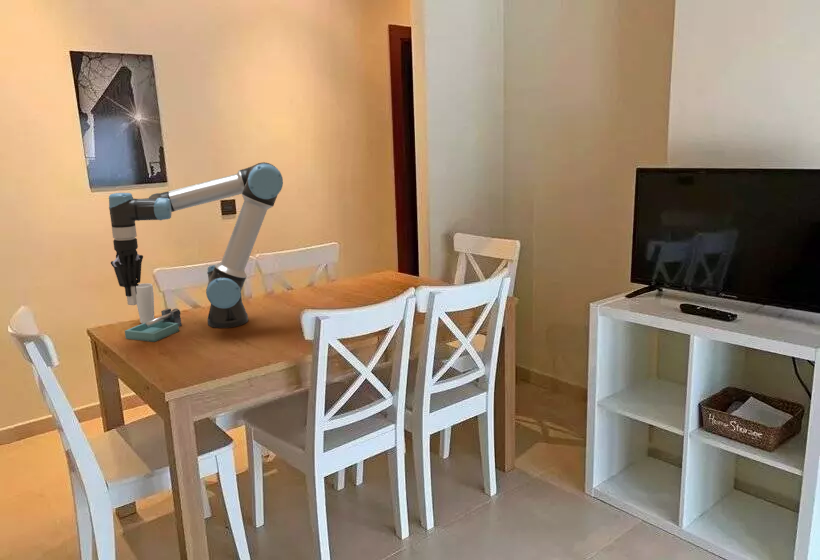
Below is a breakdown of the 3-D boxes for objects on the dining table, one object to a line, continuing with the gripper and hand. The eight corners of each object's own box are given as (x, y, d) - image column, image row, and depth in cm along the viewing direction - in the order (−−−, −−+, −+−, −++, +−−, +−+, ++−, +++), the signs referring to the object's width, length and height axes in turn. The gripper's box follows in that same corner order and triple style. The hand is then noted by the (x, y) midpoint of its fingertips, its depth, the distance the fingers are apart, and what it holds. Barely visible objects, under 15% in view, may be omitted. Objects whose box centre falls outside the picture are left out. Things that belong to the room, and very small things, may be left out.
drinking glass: (150, 325, 247) (145, 287, 243) (134, 324, 248) (129, 287, 245) (160, 320, 253) (156, 283, 250) (145, 319, 255) (140, 282, 251)
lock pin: (180, 316, 247) (180, 308, 246) (151, 329, 232) (150, 320, 232) (174, 316, 248) (173, 308, 247) (144, 328, 234) (143, 320, 233)
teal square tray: (179, 331, 239) (178, 323, 239) (154, 342, 227) (153, 334, 227) (151, 327, 244) (150, 320, 243) (125, 338, 232) (124, 330, 231)
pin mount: (181, 325, 246) (179, 309, 244) (175, 328, 242) (173, 312, 241) (168, 324, 248) (167, 308, 246) (162, 326, 244) (160, 310, 243)
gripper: (130, 234, 227) (137, 298, 232) (101, 241, 215) (109, 308, 221) (147, 235, 224) (154, 300, 230) (119, 242, 213) (127, 310, 218)
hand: (132, 304), depth 225 cm, fingers closed
